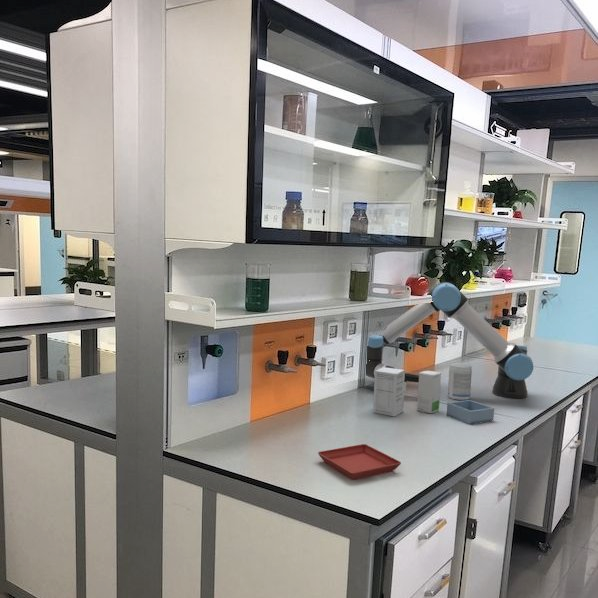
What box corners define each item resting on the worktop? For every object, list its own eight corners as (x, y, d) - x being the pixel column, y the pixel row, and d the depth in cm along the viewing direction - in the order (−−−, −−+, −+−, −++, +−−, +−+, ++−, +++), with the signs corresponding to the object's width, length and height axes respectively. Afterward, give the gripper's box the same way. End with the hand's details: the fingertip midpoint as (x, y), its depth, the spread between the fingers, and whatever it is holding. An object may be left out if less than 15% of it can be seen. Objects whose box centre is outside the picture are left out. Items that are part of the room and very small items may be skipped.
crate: (469, 412, 234) (470, 399, 234) (493, 420, 223) (494, 408, 223) (446, 415, 228) (447, 402, 227) (470, 424, 217) (471, 411, 217)
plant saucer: (316, 461, 174) (316, 451, 174) (364, 453, 183) (364, 442, 183) (351, 484, 159) (352, 473, 158) (402, 473, 168) (402, 462, 168)
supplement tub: (474, 399, 255) (477, 366, 253) (459, 401, 249) (462, 368, 248) (457, 394, 263) (459, 362, 261) (442, 396, 257) (445, 363, 256)
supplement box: (403, 411, 231) (406, 369, 229) (395, 417, 223) (397, 373, 221) (381, 407, 235) (383, 366, 234) (372, 412, 227) (374, 370, 226)
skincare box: (430, 414, 229) (433, 375, 227) (415, 410, 233) (418, 372, 231) (439, 409, 235) (442, 372, 234) (424, 406, 239) (426, 369, 238)
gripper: (407, 380, 263) (440, 391, 244) (362, 384, 251) (393, 396, 232) (408, 363, 262) (441, 374, 244) (363, 367, 250) (394, 378, 232)
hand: (418, 385), depth 238 cm, fingers open, 13 cm apart
